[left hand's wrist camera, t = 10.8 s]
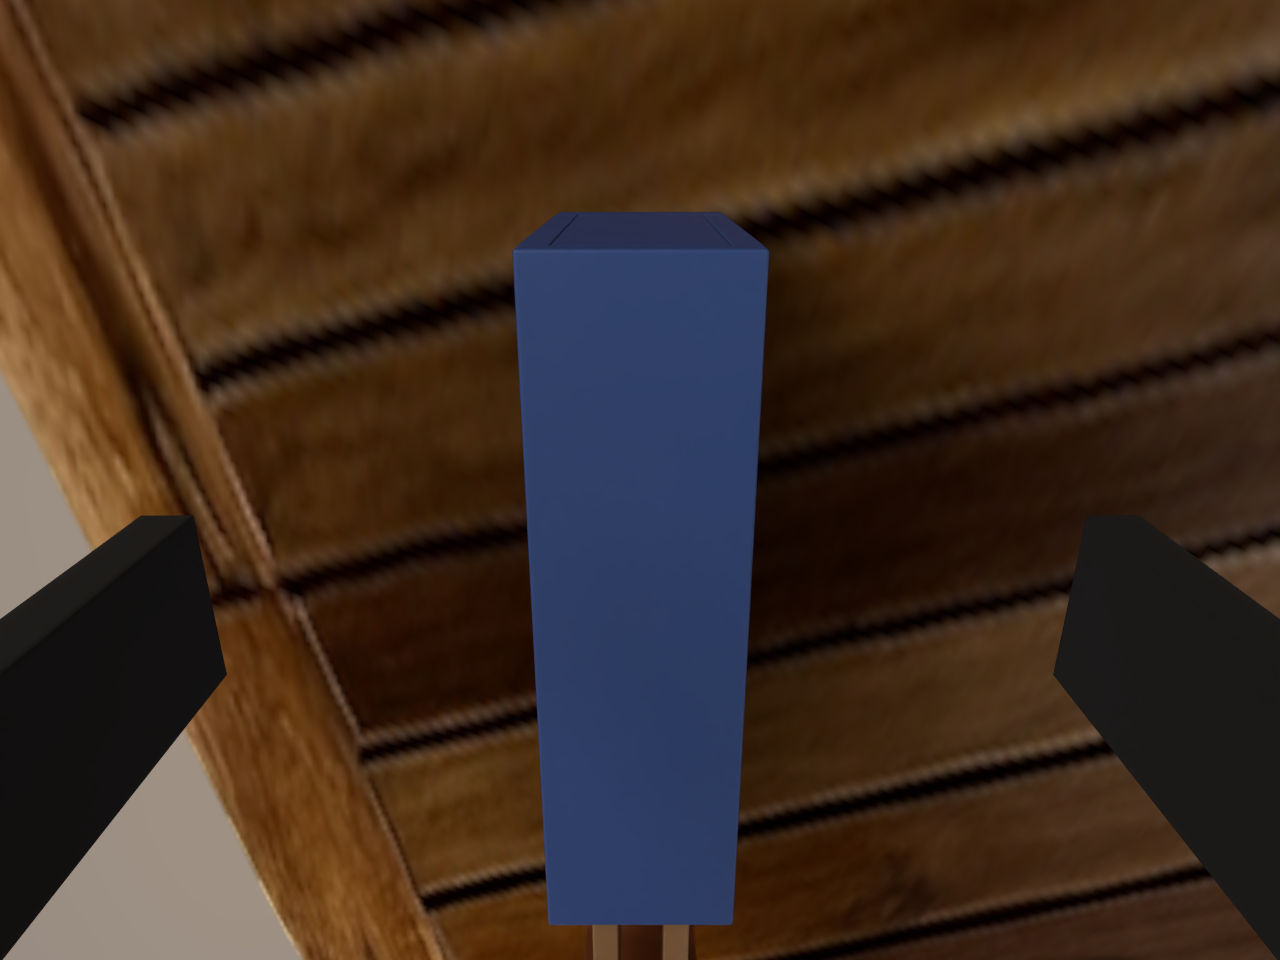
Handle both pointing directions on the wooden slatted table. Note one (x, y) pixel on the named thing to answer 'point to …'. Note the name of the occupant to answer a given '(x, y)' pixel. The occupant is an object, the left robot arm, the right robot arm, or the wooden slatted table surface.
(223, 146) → the wooden slatted table surface
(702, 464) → the cabinet
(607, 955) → the drawer
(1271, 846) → the left robot arm
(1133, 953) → the wooden slatted table surface
